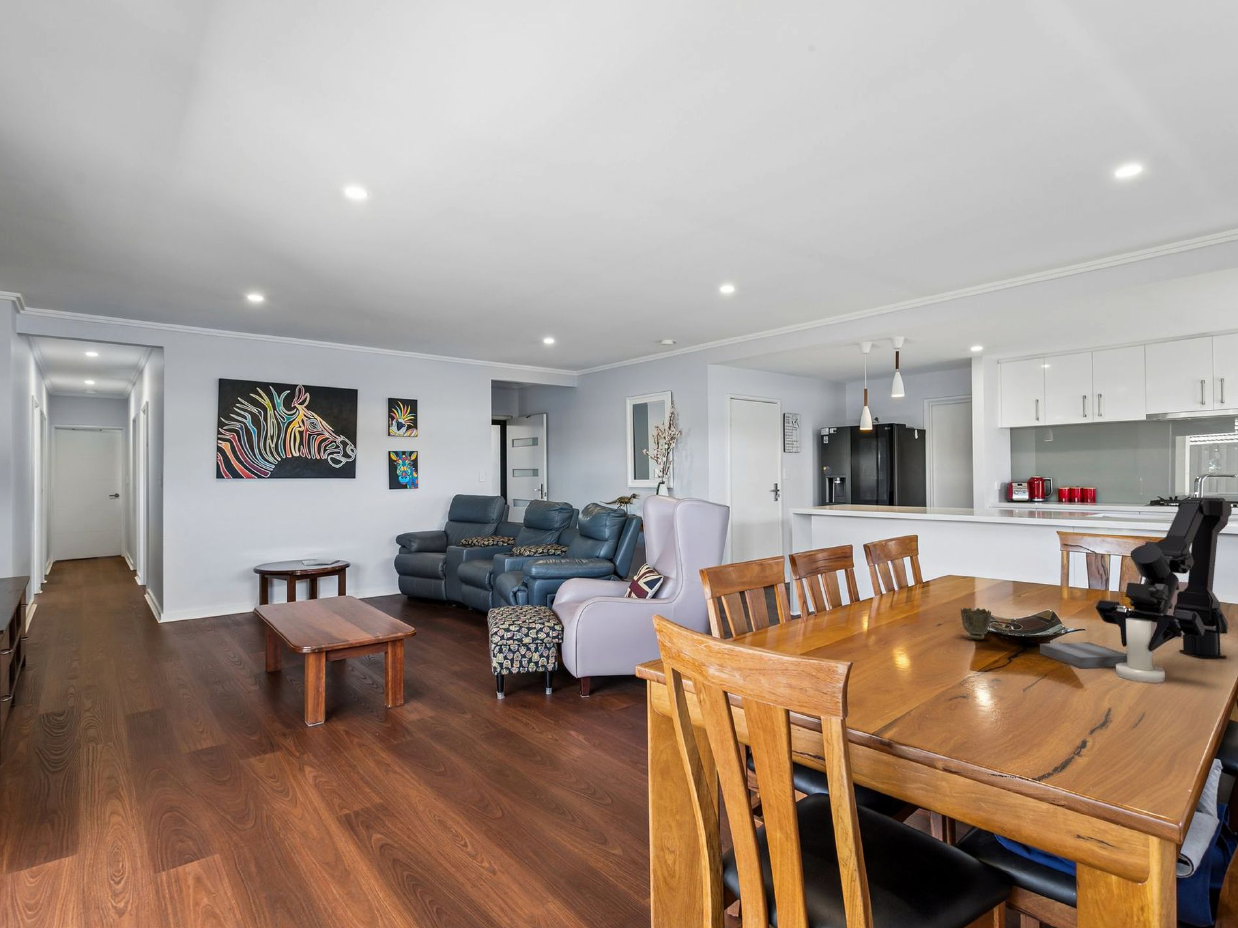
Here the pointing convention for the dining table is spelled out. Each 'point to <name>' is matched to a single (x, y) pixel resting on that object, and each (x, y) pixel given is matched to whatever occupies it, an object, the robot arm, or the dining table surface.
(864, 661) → the dining table surface
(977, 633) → the cup
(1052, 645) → the grey block
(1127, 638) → the cream cylindrical piece
